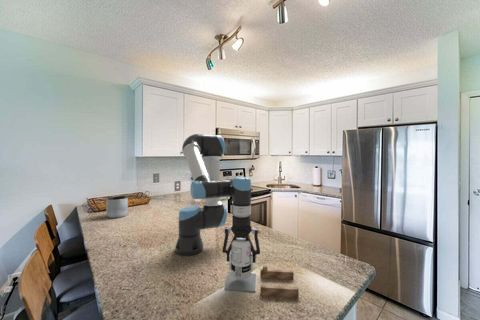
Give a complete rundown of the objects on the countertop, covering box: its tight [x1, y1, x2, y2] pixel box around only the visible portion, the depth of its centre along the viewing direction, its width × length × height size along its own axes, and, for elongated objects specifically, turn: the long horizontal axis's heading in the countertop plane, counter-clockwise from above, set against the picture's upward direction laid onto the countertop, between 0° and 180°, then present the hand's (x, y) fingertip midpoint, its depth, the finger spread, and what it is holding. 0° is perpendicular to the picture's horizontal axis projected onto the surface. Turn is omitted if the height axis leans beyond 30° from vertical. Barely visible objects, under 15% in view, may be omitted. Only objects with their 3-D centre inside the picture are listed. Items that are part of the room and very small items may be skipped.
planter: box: [105, 195, 129, 219], centre depth 180 cm, size 16×16×16 cm
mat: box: [223, 271, 257, 293], centre depth 88 cm, size 12×12×1 cm
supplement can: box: [230, 238, 252, 280], centre depth 87 cm, size 8×8×15 cm
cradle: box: [259, 264, 300, 299], centre depth 85 cm, size 14×13×4 cm
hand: (241, 269), depth 87 cm, fingers closed on supplement can, 8 cm apart
